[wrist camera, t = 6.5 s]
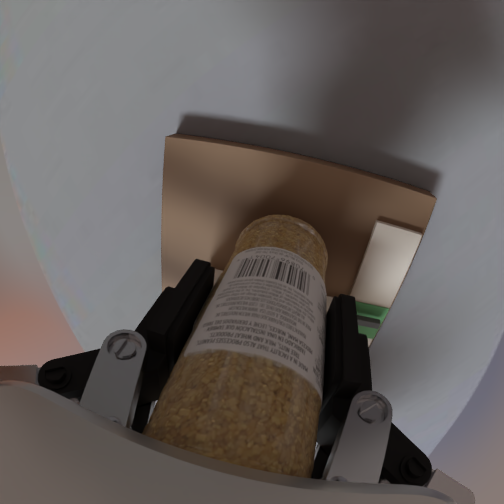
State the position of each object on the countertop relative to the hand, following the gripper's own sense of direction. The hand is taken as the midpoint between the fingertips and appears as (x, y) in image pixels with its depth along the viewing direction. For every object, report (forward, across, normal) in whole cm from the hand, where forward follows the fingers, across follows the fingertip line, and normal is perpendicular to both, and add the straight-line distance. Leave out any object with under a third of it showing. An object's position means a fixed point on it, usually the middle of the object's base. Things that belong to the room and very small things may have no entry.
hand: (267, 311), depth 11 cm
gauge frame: (+7, 0, +4) cm, 8 cm away
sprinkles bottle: (+5, 0, 0) cm, 5 cm away
